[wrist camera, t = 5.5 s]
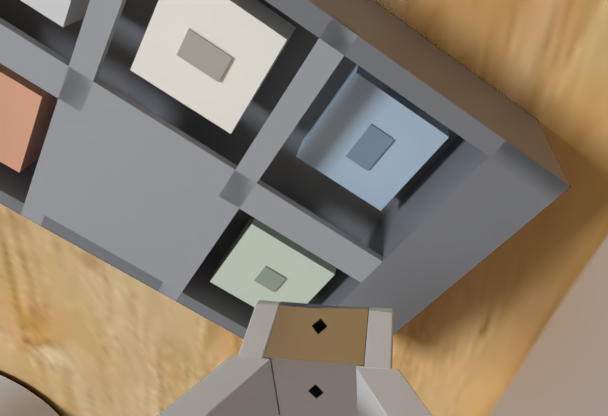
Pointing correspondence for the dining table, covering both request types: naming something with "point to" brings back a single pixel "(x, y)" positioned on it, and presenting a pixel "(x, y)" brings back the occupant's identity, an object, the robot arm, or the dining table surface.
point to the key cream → (212, 54)
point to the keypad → (268, 160)
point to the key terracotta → (22, 119)
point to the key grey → (60, 10)
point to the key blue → (371, 139)
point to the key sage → (270, 268)
